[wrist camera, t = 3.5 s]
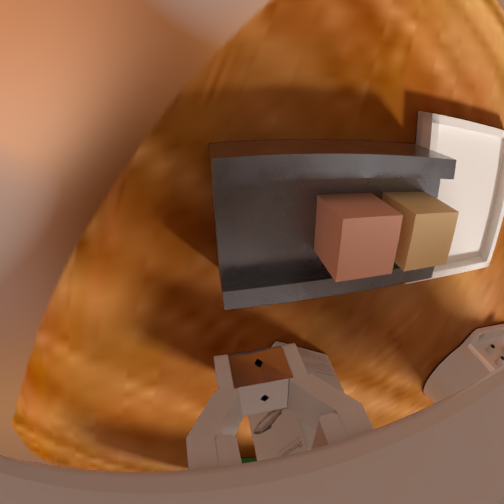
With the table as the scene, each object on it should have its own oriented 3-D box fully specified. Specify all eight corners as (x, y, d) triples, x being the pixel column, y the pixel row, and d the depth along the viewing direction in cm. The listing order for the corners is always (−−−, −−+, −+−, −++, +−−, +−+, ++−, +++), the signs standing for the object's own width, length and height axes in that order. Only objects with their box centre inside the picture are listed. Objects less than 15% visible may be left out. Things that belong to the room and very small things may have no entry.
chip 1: (425, 191, 21) (459, 212, 17) (416, 239, 23) (445, 263, 19) (382, 192, 20) (415, 214, 17) (375, 243, 22) (403, 271, 19)
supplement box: (274, 338, 30) (310, 448, 19) (328, 353, 33) (371, 446, 22) (239, 381, 33) (259, 482, 22) (291, 392, 36) (320, 480, 25)
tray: (504, 130, 23) (517, 134, 21) (478, 258, 31) (488, 266, 29) (418, 110, 21) (432, 113, 20) (394, 273, 29) (404, 284, 27)
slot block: (413, 143, 23) (456, 159, 18) (398, 247, 28) (431, 277, 23) (208, 143, 21) (211, 158, 16) (218, 267, 25) (224, 310, 21)
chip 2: (370, 192, 20) (403, 214, 17) (364, 244, 22) (391, 273, 18) (317, 194, 19) (343, 218, 16) (313, 250, 21) (335, 282, 18)
